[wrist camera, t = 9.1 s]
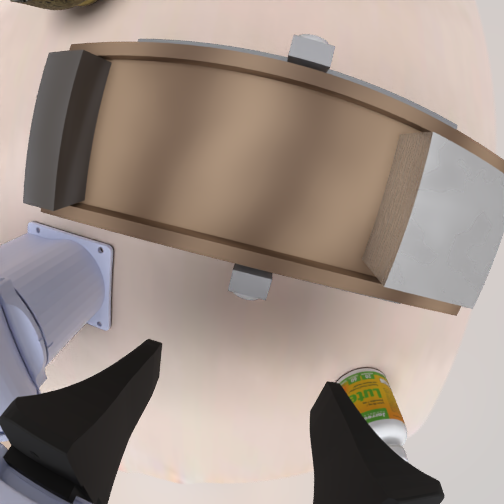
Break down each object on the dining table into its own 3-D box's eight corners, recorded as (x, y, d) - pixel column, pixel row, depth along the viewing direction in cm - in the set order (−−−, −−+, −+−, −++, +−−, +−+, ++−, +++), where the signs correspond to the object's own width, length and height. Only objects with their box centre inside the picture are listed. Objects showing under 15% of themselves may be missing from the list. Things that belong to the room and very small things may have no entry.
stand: (105, 226, 21) (59, 250, 15) (144, 40, 17) (105, 11, 11) (394, 300, 21) (425, 343, 16) (450, 123, 17) (500, 119, 11)
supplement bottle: (373, 356, 23) (407, 442, 14) (393, 388, 24) (423, 466, 15) (320, 385, 25) (333, 475, 15) (345, 414, 26) (361, 494, 17)
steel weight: (361, 259, 15) (383, 286, 12) (399, 134, 13) (433, 131, 10) (443, 282, 16) (472, 308, 12) (479, 174, 13) (517, 182, 10)
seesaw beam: (61, 204, 16) (19, 219, 13) (90, 52, 13) (51, 36, 9) (441, 300, 17) (471, 332, 13) (488, 160, 14) (530, 167, 10)
